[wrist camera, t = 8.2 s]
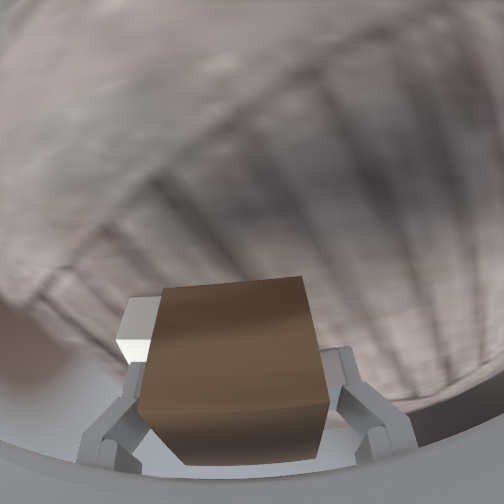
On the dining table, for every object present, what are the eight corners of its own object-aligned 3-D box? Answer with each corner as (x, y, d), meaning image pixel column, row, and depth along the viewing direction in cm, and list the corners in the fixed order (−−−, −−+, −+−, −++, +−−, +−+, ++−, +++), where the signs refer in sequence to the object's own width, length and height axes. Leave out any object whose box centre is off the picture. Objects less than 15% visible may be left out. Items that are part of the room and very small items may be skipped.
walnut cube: (163, 288, 11) (136, 411, 7) (301, 275, 11) (329, 401, 7) (193, 366, 14) (185, 465, 10) (300, 358, 14) (315, 458, 10)
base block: (130, 295, 26) (115, 339, 21) (261, 287, 26) (265, 334, 21) (162, 370, 32) (156, 410, 28) (265, 367, 32) (268, 408, 28)
